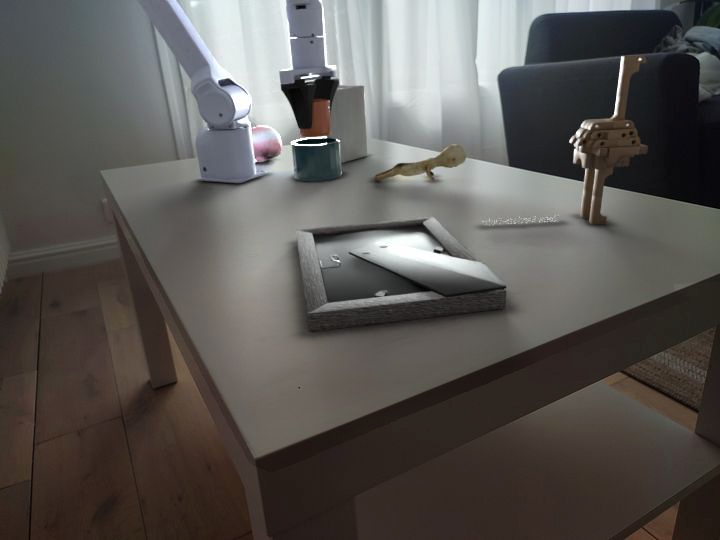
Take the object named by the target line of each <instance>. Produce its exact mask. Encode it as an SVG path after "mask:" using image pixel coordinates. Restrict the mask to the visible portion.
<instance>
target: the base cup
mask: <svg viewBox="0 0 720 540" xmlns="http://www.w3.org/2000/svg"><path fill="white" fill-rule="evenodd" d="M290 144H291V155H292V165H293V173H294V179H295V180H297V181H301V182H313V183H314V182H325V181H326V182H327V181H331V180H336V179H338V178H340V177H342V175H343V167H342V163H341V151H340V140H339V139H337V138H331V137H326V136H319V137H305V138H300V139H296V140H293V141H291V142H290Z"/></svg>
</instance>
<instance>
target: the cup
mask: <svg viewBox="0 0 720 540" xmlns="http://www.w3.org/2000/svg"><path fill="white" fill-rule="evenodd" d="M297 128H298V127H297ZM330 134H331V119H330V105H329V99H313V103H312V126H311V128H310V129H299V128H298V136H299V137H302V138H317V137H326V135H330Z"/></svg>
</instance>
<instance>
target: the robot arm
mask: <svg viewBox="0 0 720 540" xmlns="http://www.w3.org/2000/svg"><path fill="white" fill-rule="evenodd" d="M136 1H137V2H138V4H139V6H140V7H141V9H142V10H143V11H144V13H145V15H147V17H148V19H149V20H150V22H151V23H152V25H153V26H154V28H155V29H156V30H157V32H158V33H159V35H160V36H161V38H162V39H163V41H164V42H165V44H166V45H167V46H168V48H169V49H170V51H171V53H172V54H173V56H174V57H175V58H176V60H177V62H178V63H179V65H180V66H181V68H182V69H183V70H184V73H186V75H187V76H188V78H189V79H190V93H191V94H192V96H193V98H195V101H196V104H197V109H198V112H199V115H200V117H201V118H202V120H203V121H204V122H205V123H206V126H205V127H203V128H201V129H200V130H199V131H198V132H197V133H196V138H195V149H196V154H197V161H198V166H199V172H200V176H199V177H197V181H201V182H215V183H228V184H229V183H230V184H243V183H245V182H249V181H251V180H253V179H256V178H259V177H262V176H265V175H267V174H268V173H267V172H268V171H266V170H257V167H256V163H255V161H256V159H255V158H254V150H253V143H252V135H251V129H252V126H251V122H250V120H249V118H248V116H249V115H250V113H251V111H252V107H253V101H252V97H251V95H250V93H249V92H248V90H247V89H246V88H245V87H244V86H242V85H240V84H239V83H237V81H235V79H234V78H233V76H232V74H230V73H229V72H228V71H227V70H226V69H225V68H223V67H222V66H221V65H220V64H219V63H218V62H217V60H216V59H215V56H213V54H212V53H211V51H210V49H209V48H208V46H207V44H206V43H205V41H204V40H203V39H202V37H201V35H200V34H199V32H198V31H197V30H196V28H195V26H194V25H193V23H192V22H191V20H190V19H189V17H188V16H187V14H186V13H185V11H184V9H183V8H182V7H181V5H180V3H179V2H178V0H136ZM285 1H286V3H285V4H286V6H285V10H286V21H287V31H288V43H289V55H290V64H291V68H286V69H279V70H278V74H279V83H280V91H281V92H282V93H283V95H284V96H285V98H286V99H287V101H288V103H289V105H290V109H291V110H292V113H293V116H294V118H295V122H296V125H297V128H299V129H310V128H311V126H312V103H313V99H329V105H330V114H331V108H332V102H333V98H334V95H335V92H336V90H337V88H338V85H340V79H339V78H337V77H338V74H337V73H338V72H337V64H332V65H328V62H327V61H328V60H327V50H326V49H327V48H326V47H327V45H326V33H325V32H326V31H325V30H326V29H325V18H324V17H325V16H324V5H323V1H322V0H285ZM310 75H311V76H310ZM299 129H298V130H299Z"/></svg>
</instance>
